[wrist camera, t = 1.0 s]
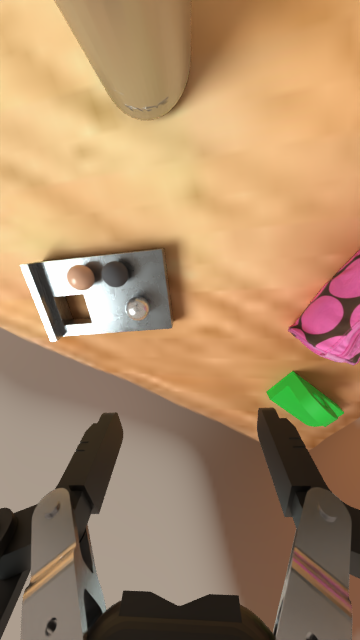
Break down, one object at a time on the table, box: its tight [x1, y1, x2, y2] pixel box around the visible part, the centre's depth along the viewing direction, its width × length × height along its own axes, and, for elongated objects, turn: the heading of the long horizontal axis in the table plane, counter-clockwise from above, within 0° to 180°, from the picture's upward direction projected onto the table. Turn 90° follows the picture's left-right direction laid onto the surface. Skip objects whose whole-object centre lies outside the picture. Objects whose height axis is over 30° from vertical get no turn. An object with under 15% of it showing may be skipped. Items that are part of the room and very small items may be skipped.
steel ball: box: [125, 296, 150, 320], centre depth 26 cm, size 3×3×3 cm
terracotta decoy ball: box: [67, 265, 95, 291], centre depth 25 cm, size 3×3×3 cm
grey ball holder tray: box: [20, 248, 173, 341], centre depth 28 cm, size 11×18×4 cm, turn 96°
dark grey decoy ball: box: [102, 261, 128, 287], centre depth 25 cm, size 3×3×3 cm
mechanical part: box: [267, 371, 344, 427], centre depth 33 cm, size 12×6×8 cm, turn 53°
